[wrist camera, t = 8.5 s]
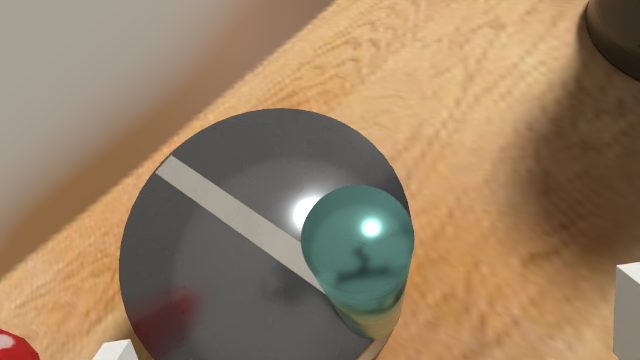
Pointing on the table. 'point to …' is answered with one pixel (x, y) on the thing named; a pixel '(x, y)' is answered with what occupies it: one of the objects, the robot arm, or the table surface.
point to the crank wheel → (267, 243)
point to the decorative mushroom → (15, 348)
